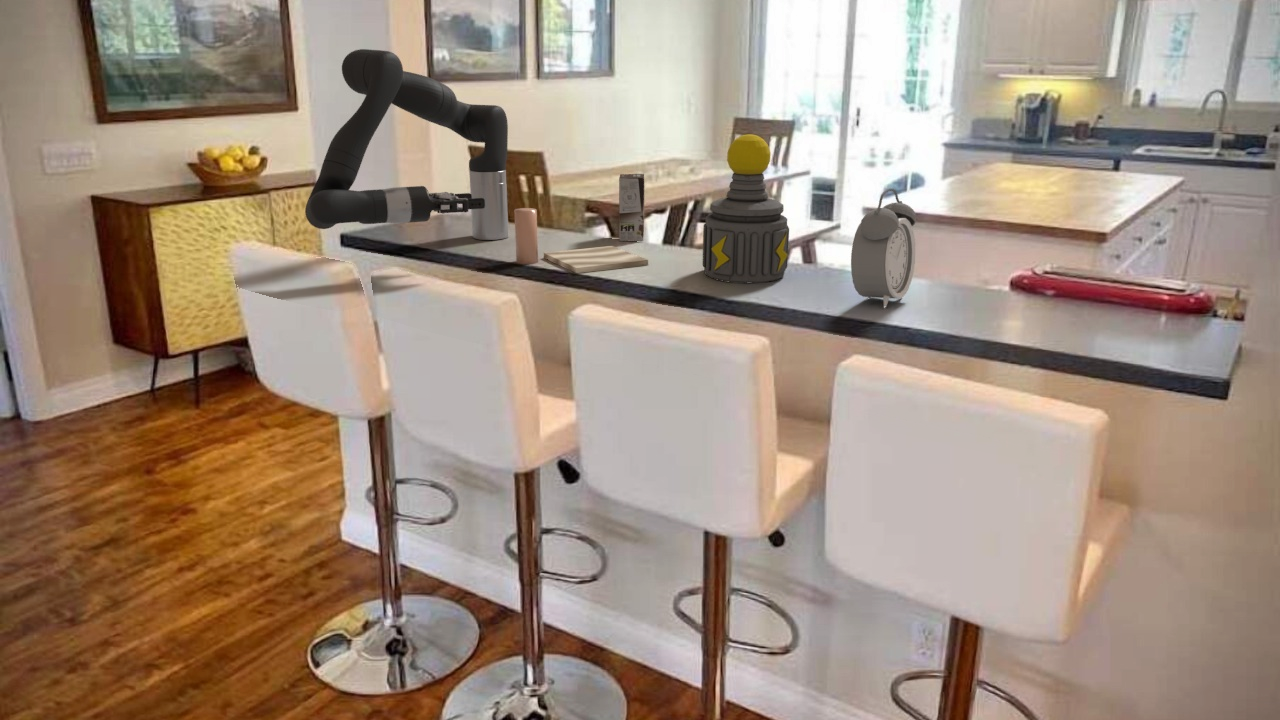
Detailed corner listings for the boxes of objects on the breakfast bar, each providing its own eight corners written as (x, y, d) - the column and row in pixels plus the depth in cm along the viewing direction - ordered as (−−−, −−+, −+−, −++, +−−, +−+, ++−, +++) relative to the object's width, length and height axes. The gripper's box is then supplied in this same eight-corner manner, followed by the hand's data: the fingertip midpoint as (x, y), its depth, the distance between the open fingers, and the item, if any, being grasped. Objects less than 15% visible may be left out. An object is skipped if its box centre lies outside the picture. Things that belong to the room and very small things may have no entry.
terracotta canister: (513, 260, 221) (511, 209, 217) (533, 258, 223) (531, 207, 220) (521, 265, 217) (519, 212, 213) (541, 262, 219) (540, 210, 216)
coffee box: (643, 241, 244) (644, 177, 239) (618, 241, 244) (618, 177, 239) (644, 234, 252) (644, 173, 247) (620, 234, 252) (620, 173, 247)
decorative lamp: (803, 273, 210) (812, 133, 201) (757, 289, 196) (763, 140, 187) (732, 261, 222) (737, 128, 212) (683, 275, 208) (686, 134, 198)
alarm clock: (886, 314, 178) (897, 196, 171) (842, 307, 183) (851, 192, 176) (915, 296, 191) (926, 185, 184) (874, 290, 196) (882, 182, 189)
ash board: (543, 257, 224) (543, 252, 224) (611, 250, 233) (611, 245, 232) (576, 273, 209) (576, 267, 209) (648, 264, 218) (648, 259, 217)
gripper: (413, 191, 196) (488, 187, 203) (394, 183, 208) (466, 179, 215) (415, 227, 198) (489, 222, 205) (396, 217, 210) (467, 213, 217)
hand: (477, 200), depth 210 cm, fingers open, 8 cm apart
